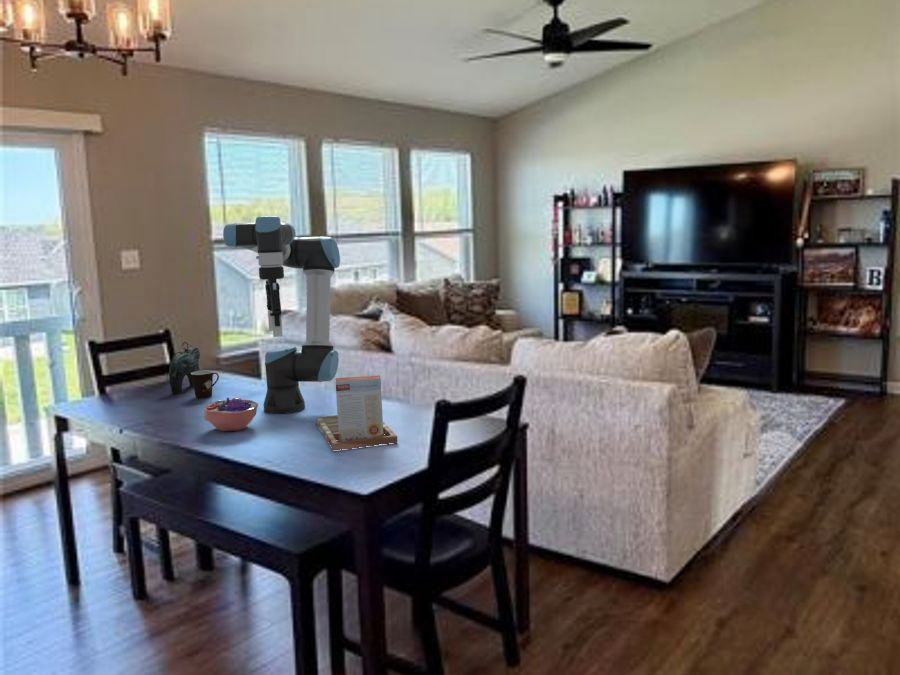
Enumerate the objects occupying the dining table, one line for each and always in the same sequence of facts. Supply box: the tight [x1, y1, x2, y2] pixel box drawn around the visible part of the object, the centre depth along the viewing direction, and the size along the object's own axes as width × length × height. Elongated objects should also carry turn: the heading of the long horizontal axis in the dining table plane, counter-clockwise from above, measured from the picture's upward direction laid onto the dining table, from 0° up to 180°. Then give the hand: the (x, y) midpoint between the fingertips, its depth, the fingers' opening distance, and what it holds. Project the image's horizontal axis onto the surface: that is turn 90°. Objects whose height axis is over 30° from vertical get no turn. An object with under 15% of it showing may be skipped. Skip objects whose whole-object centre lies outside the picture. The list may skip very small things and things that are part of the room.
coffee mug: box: [191, 369, 220, 399], centre depth 301 cm, size 12×9×10 cm
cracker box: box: [335, 375, 385, 442], centre depth 232 cm, size 14×6×21 cm, turn 97°
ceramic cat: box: [168, 341, 201, 395], centre depth 315 cm, size 20×6×20 cm, turn 169°
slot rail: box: [316, 414, 398, 451], centre depth 243 cm, size 33×20×2 cm, turn 19°
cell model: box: [202, 397, 259, 432], centre depth 252 cm, size 17×20×11 cm
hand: (275, 333), depth 233 cm, fingers open, 13 cm apart
